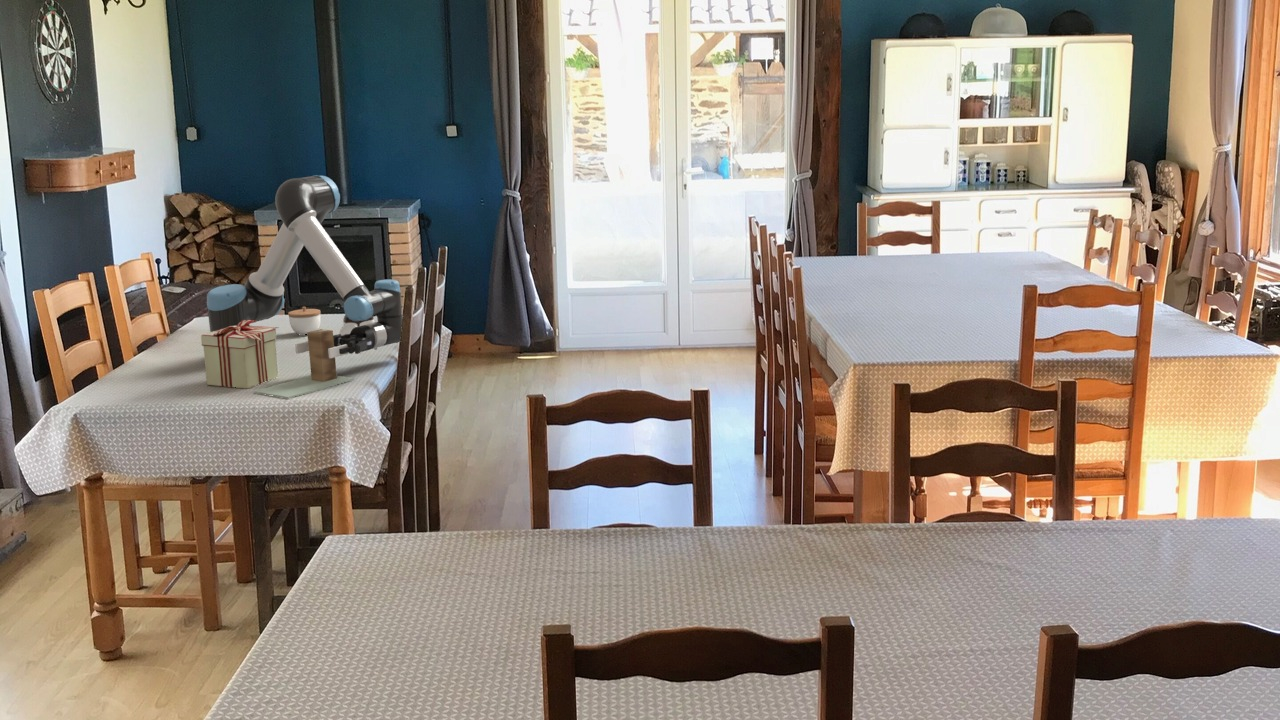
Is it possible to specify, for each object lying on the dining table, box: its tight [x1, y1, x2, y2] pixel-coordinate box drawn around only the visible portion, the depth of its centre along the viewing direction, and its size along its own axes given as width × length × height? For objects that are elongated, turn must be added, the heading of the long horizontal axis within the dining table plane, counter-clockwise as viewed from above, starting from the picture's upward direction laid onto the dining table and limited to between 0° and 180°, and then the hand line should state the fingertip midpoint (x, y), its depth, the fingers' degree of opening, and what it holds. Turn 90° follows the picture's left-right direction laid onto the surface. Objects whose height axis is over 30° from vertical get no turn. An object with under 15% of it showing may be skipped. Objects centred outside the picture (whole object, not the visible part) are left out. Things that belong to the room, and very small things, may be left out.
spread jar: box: [338, 315, 375, 335], centre depth 405 cm, size 12×11×12 cm
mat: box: [254, 375, 355, 399], centre depth 346 cm, size 24×14×1 cm, turn 146°
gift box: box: [200, 320, 280, 389], centre depth 353 cm, size 17×18×17 cm
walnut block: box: [306, 328, 338, 382], centre depth 351 cm, size 5×5×14 cm
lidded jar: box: [287, 306, 322, 336], centre depth 421 cm, size 11×11×9 cm
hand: (312, 351), depth 347 cm, fingers open, 13 cm apart
